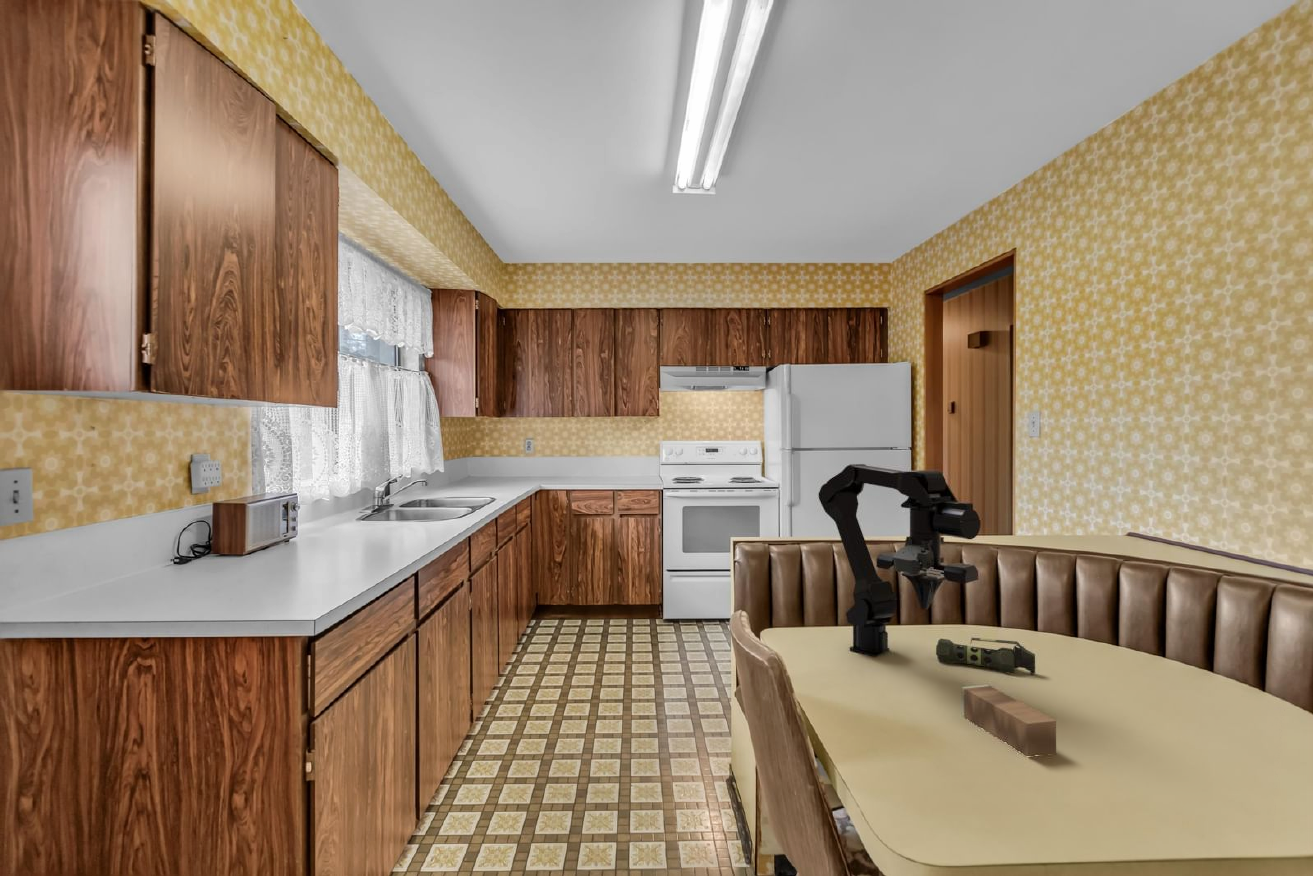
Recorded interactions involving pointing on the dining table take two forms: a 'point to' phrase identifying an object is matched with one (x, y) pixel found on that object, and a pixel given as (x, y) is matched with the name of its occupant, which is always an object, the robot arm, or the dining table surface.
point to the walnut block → (1009, 720)
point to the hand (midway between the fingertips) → (924, 609)
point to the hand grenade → (987, 655)
